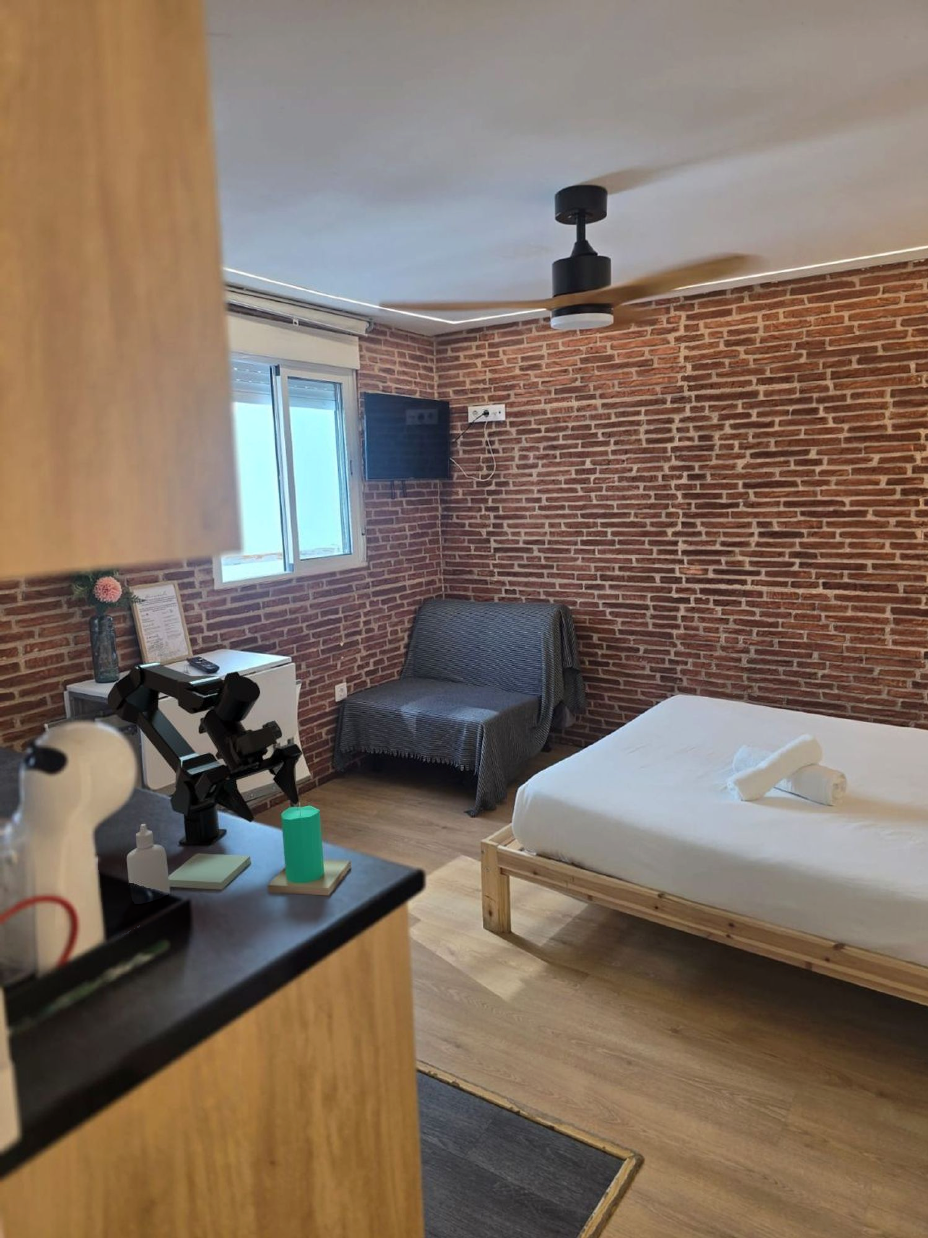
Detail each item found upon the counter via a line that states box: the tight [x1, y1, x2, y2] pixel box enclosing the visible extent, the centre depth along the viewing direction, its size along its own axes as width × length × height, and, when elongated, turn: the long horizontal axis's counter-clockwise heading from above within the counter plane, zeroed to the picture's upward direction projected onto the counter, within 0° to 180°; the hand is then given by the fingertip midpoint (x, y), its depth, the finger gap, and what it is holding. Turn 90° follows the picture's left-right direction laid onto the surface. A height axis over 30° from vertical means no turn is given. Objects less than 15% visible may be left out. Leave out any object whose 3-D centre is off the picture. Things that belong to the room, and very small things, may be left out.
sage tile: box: [168, 853, 251, 891], centre depth 136 cm, size 10×10×1 cm
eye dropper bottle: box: [126, 823, 171, 894], centre depth 127 cm, size 4×6×12 cm
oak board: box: [267, 858, 352, 896], centre depth 132 cm, size 10×10×1 cm
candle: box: [280, 802, 324, 883], centre depth 130 cm, size 6×6×12 cm
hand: (275, 811), depth 136 cm, fingers open, 9 cm apart
